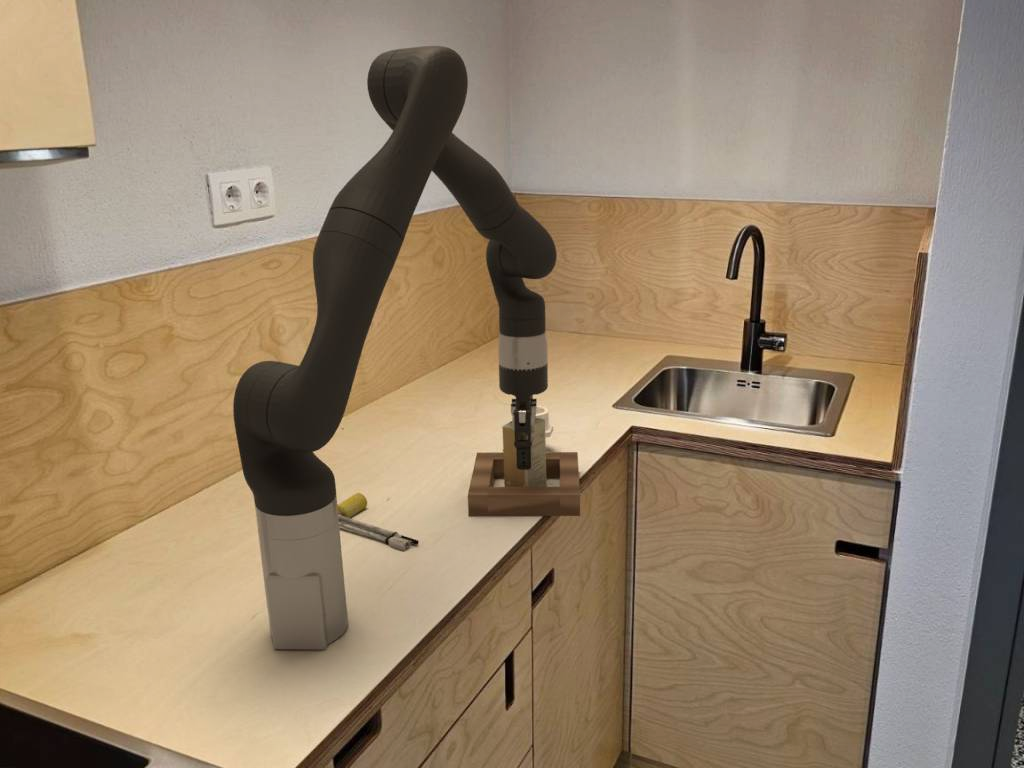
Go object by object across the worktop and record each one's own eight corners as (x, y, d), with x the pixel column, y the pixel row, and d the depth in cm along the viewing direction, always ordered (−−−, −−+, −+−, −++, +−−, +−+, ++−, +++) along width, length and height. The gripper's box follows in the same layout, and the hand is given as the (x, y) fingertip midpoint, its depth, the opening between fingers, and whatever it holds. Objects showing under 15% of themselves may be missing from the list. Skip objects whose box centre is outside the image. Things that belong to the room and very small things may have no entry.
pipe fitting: (559, 456, 159) (559, 413, 156) (521, 461, 157) (520, 418, 154) (547, 443, 164) (546, 402, 162) (510, 448, 162) (509, 407, 160)
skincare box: (525, 483, 148) (524, 413, 144) (547, 489, 145) (546, 418, 142) (502, 497, 143) (500, 425, 139) (525, 503, 140) (523, 430, 137)
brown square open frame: (580, 515, 136) (580, 494, 135) (468, 516, 137) (467, 495, 136) (577, 471, 152) (577, 452, 151) (477, 471, 153) (477, 452, 152)
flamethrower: (300, 488, 148) (254, 514, 140) (298, 473, 147) (252, 499, 139) (442, 532, 133) (400, 564, 125) (441, 516, 132) (398, 547, 124)
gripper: (547, 373, 131) (548, 476, 136) (547, 347, 144) (548, 442, 149) (495, 374, 131) (498, 476, 136) (501, 348, 145) (503, 442, 149)
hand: (524, 458), depth 143 cm, fingers open, 8 cm apart
